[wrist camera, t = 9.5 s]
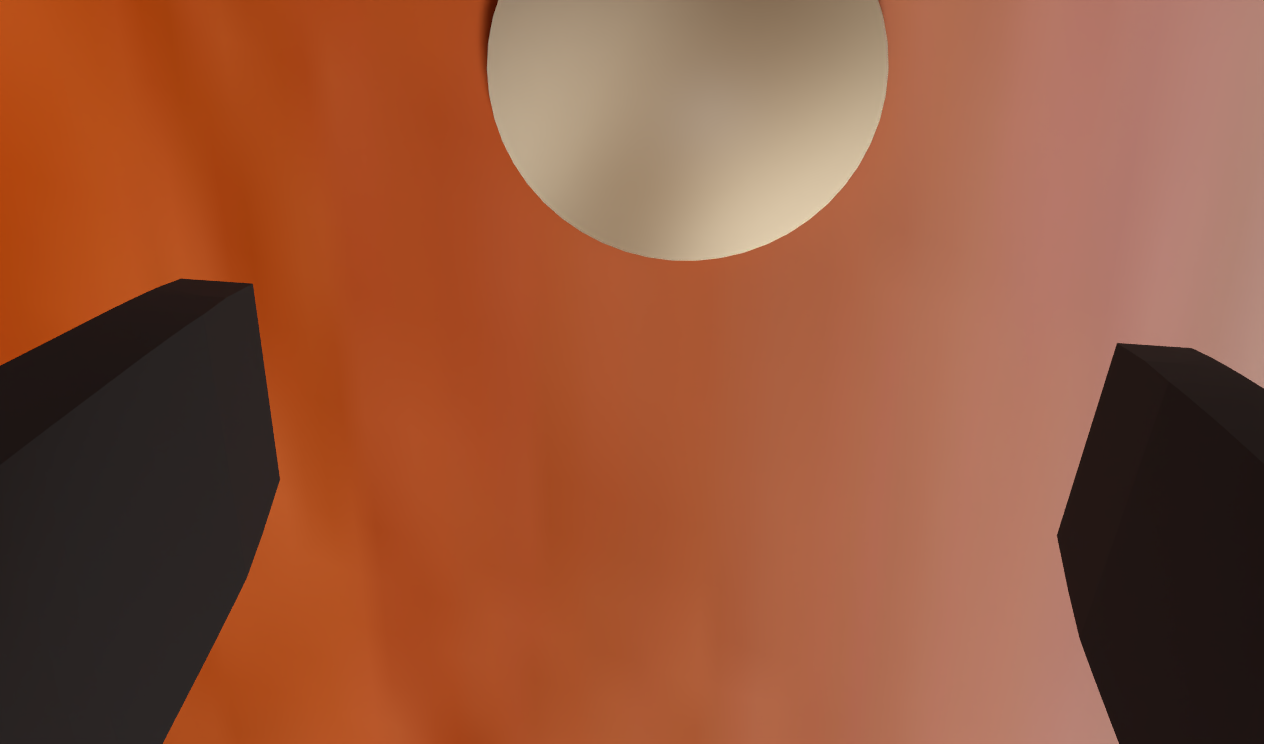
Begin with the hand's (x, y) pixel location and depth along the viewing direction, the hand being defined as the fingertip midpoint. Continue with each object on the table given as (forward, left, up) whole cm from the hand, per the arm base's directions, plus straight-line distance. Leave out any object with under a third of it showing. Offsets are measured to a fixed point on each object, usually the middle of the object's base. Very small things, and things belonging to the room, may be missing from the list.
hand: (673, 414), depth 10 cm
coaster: (0, 0, -9) cm, 9 cm away
